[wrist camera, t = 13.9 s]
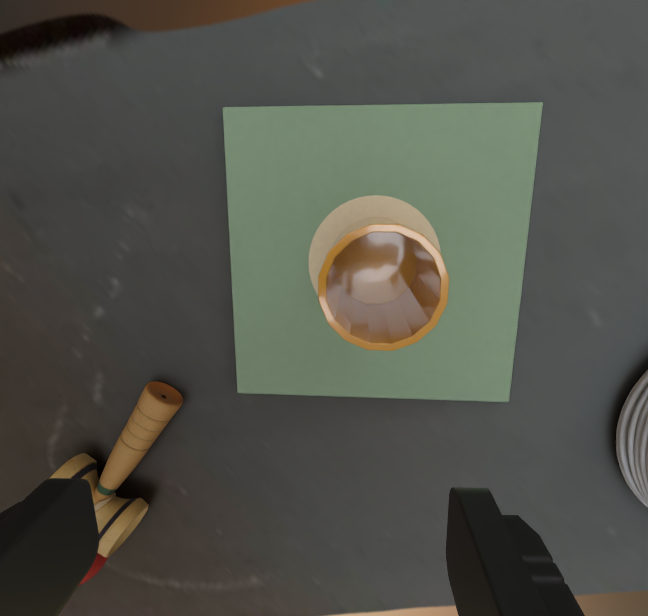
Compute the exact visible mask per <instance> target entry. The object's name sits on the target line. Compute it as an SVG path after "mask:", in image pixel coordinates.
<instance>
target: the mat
mask: <svg viewBox="0 0 648 616" xmlns="http://www.w3.org/2000/svg"><path fill="white" fill-rule="evenodd" d="M542 106H543V103H542V102H532V103H466V104H401V105H335V106H269V107H223V123H224V142H225V161H226V181H227V200H228V219H229V239H230V258H231V277H232V296H233V316H234V335H235V354H236V373H237V392H238V393H253V394H282V395H312V396H342V397H372V398H402V399H431V400H461V401H491V402H509V395H510V386H511V377H512V369H513V360H514V351H515V342H516V334H517V325H518V316H519V307H520V299H521V290H522V281H523V272H524V264H525V255H526V246H527V237H528V229H529V220H530V211H531V202H532V194H533V185H534V176H535V167H536V159H537V150H538V141H539V132H540V124H541V115H542ZM368 217H386V218H389V219H392V220H394V221H396V222H399V223H401V224H403V225H405V226H407V227H409V228H411V229H413V230H415V231H417V232H419V233H421V234H423V235H424V236H425V237H426V238H427V239H428V240H429V241H430V242H431V243H432V244H433V245H434V246H435V248H436V249H437V250H438V251H439V252H440V254H441V255H442V258H443V261H444V264H445V266H446V269H447V272H448V275H449V291H448V302H447V305H446V307H445V309H444V311H443V313H442V315H441V317H440V319H439V321H438V323H437V325H436V326H435V327H434V328H433V329H432V330H431V331H429V332H428V333H427V334H426V335H425V336H424V337H423V338H421V339H420V340H419V341H418V342H416V343H414V344H411V345H408V346H405V347H403V348H400V349H397V350H394V351H378V350H366V349H364V348H362V347H359V346H357V345H354V344H352V343H350V342H347V341H346V340H344V339H343V338H342V337H341V336H340V335H339V334H338V333H337V332H336V331H335V330H334V329H333V328H332V327H331V326H330V325H329V324H328V322H327V320H326V318H325V315H324V313H323V311H322V308H321V306H320V303H319V300H318V276H319V273H320V271H321V268H322V266H323V263H324V261H325V259H326V256H327V254H328V252H329V250H330V248H331V247H332V245H333V243H334V241H335V239H336V238H337V237H338V236H339V235H340V234H341V233H342V231H343V230H344V229H346V228H347V227H348V226H349V225H350V224H352V223H354V222H356V221H358V220H361V219H364V218H368Z"/></svg>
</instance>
